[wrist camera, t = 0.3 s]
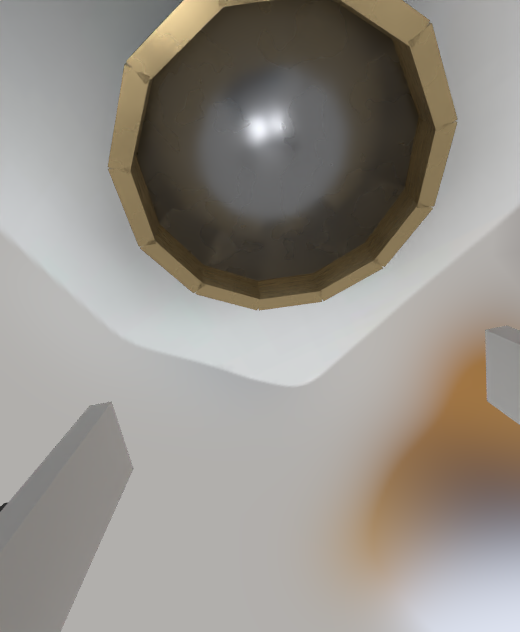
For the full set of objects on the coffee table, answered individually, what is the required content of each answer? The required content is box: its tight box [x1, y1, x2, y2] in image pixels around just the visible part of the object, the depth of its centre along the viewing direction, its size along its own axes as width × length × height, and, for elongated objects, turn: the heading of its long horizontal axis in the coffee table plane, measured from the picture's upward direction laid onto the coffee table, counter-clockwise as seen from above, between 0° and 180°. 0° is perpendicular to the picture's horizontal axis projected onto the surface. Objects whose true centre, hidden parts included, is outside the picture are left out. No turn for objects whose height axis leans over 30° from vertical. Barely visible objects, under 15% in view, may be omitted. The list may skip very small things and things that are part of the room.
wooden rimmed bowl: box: [108, 0, 457, 310], centre depth 20 cm, size 17×17×4 cm
